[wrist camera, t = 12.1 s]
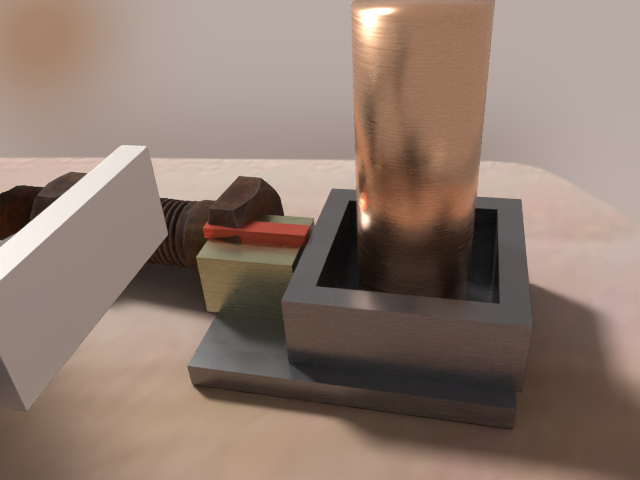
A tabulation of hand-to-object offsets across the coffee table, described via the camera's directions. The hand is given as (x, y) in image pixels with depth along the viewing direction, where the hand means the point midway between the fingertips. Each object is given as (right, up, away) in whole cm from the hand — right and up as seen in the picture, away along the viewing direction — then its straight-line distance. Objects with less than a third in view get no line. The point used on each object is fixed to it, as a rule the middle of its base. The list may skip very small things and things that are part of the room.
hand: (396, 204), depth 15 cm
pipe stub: (+2, -4, +10) cm, 11 cm away
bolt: (-11, -2, +16) cm, 20 cm away
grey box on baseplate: (0, -4, +11) cm, 12 cm away
